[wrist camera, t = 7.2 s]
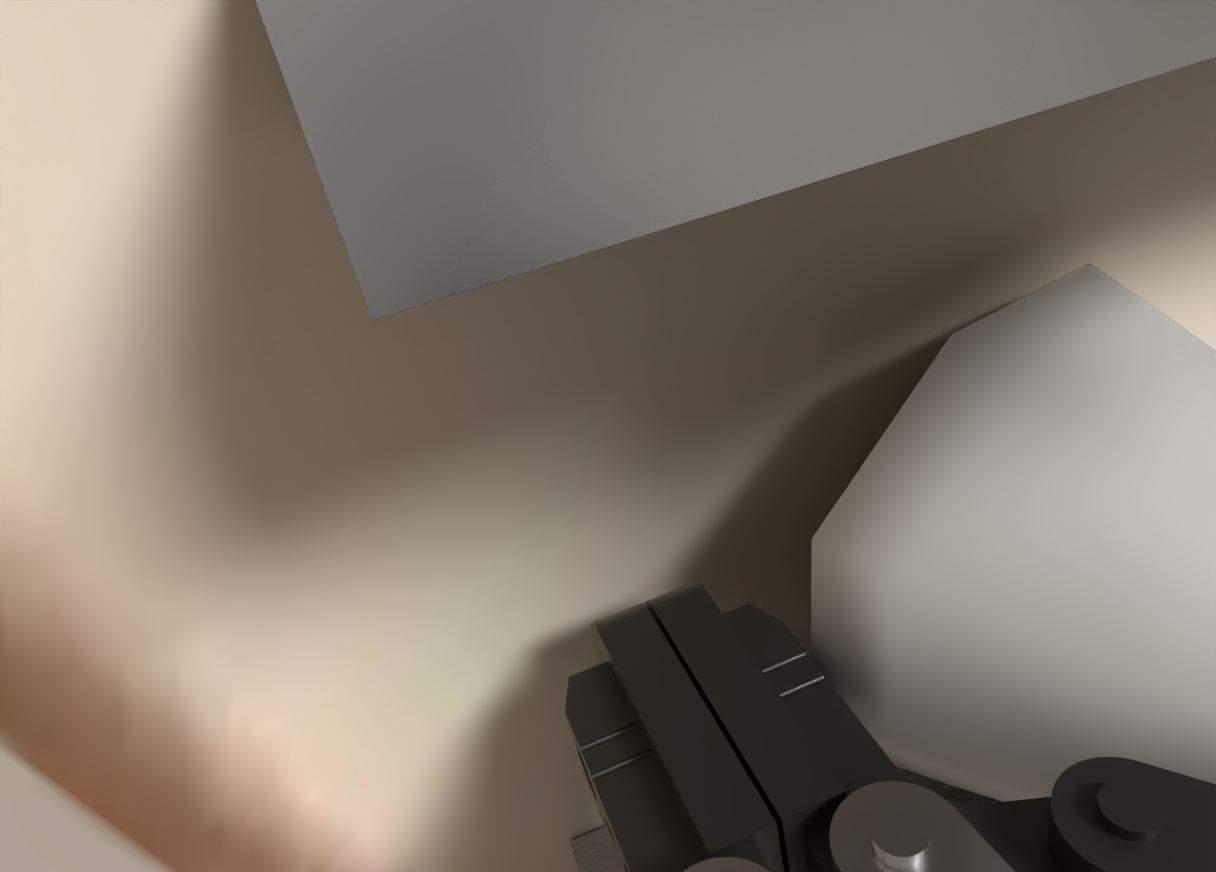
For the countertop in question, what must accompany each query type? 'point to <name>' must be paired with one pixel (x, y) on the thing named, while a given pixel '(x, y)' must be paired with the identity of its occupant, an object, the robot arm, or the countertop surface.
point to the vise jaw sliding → (657, 109)
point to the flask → (1034, 551)
